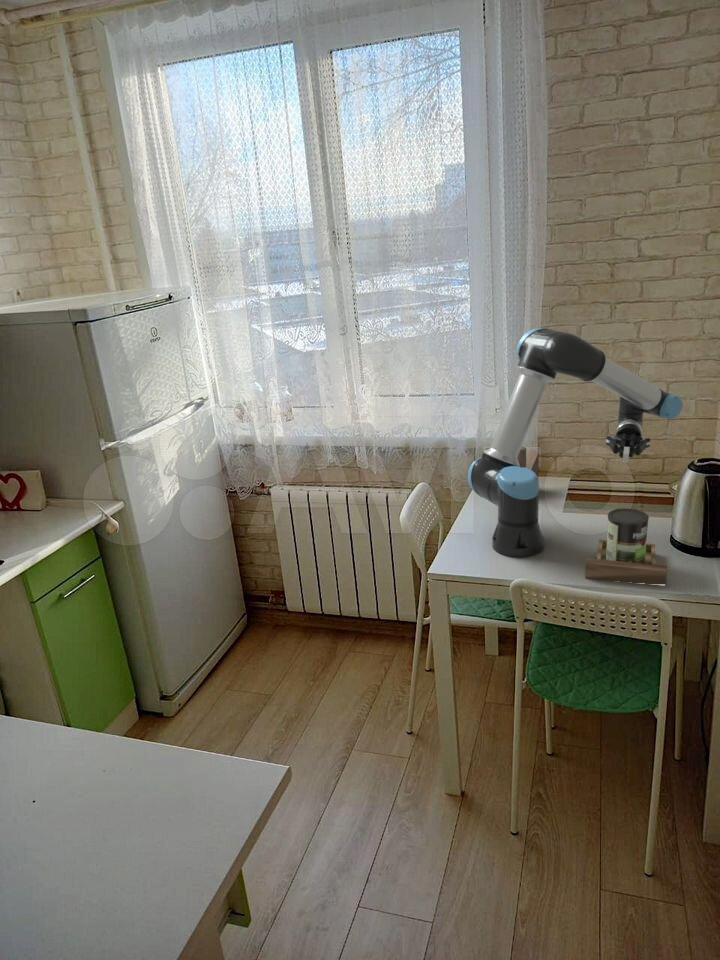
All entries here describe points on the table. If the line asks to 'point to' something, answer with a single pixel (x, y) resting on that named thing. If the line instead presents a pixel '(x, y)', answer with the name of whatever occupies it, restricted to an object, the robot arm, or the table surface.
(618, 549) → the coffee can
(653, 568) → the block
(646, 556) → the brown wooden tray
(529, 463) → the wooden block
